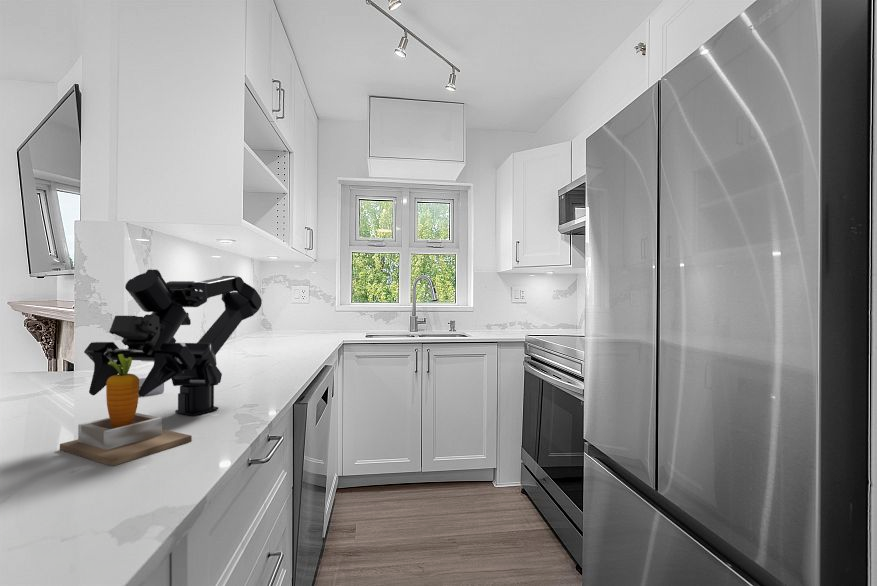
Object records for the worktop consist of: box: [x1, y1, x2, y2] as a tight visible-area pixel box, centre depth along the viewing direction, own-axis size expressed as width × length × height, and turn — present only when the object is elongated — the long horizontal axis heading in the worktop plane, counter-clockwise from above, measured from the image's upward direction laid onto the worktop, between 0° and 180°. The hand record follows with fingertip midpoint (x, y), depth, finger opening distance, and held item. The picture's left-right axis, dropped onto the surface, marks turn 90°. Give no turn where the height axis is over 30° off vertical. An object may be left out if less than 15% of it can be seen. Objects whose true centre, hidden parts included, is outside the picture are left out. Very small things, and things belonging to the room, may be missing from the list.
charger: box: [133, 372, 165, 397], centre depth 121 cm, size 5×9×15 cm
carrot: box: [105, 354, 140, 428], centre depth 78 cm, size 5×5×15 cm
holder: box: [59, 412, 193, 467], centre depth 77 cm, size 13×16×4 cm
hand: (115, 394), depth 76 cm, fingers open, 9 cm apart
